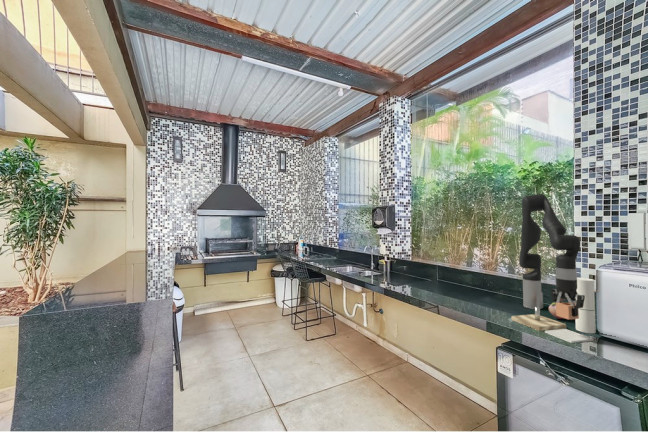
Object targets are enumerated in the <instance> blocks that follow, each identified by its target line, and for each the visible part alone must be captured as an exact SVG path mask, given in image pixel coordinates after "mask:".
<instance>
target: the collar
mask: <svg viewBox="0 0 648 432" xmlns="http://www.w3.org/2000/svg"><path fill="white" fill-rule="evenodd" d="M555 303H556V302H555ZM556 316H559V317H562V319H566V320H575V319H579V308H578V316H577V317H573V316H572V307H571V304H570V303H569V302H567V301H565V302H564V301H563V302H561V303H556Z"/></svg>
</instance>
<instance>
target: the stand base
mask: <svg viewBox="0 0 648 432" xmlns="http://www.w3.org/2000/svg"><path fill="white" fill-rule="evenodd" d="M511 320H512V321H513V322H516V323H519V324H521V325H524V326H525V325H526V326H525V327H529V328H530V327H531V328H530V329H533V330H535V329H536V331H538V332H543V331H544V332H545V331H548V330H559V329H567V324H566V323H563V322H560V321H558V320H554V319H552V318H549V317H547V316H542V315H540V321H537V320H535V313H534V314H522V315H513V316H512V315H511Z"/></svg>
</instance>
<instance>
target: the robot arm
mask: <svg viewBox="0 0 648 432" xmlns="http://www.w3.org/2000/svg"><path fill="white" fill-rule="evenodd" d="M541 211H542V212H544V215H543V218H542V221H541V223H542V227H543V229H544V230H545V232H546V233H547V234H548V238H549V242H550V246H551V248H553V249H554V250H557V251H565V253H563V254H558V255H557V256H556V257H555V267H556V268H555V287H557V288H551V289H549V291H550V295H551V300H552V301H551V302H552V303H561V302H564V301H568V302H567V303H570V304H571V307H572V316H573V317H577V316H578V308H583V305H584V299H585V296H584V295H579V294H578V293H577V291H576V290H577V278H578V273H577V257H578V253H579V251H580V248H581V240H580V238H579V237H578V236H576V235H573V234H566V233H567V229H566V228H565V226H564V224H563V223H562V222H561V221H560V220H559V219H558V216H557V215H556V213H555V211H554V209H553V206H552V204H551V203H550V200H549V199H548V198H547V196H546V195H545V194H542V193H539V194H537V193H536V194H531V195H525V196H523V197H522V199H521V215H522V216H521V218H522V220H521V222H522V223H521V231H520V232H521V233H520V234H521V235H520V243H521V244H520V253H519V258H518V259H519V260H518V261H519V263H518V264H519V266H520V267H521V268H522V269H531V270H532V269H533V270H532V271H530V272H525V273H523V274H522V295H523V296H522V299H523V301H522V303H523V306H522V307H524V308H526V309H531V310H535V307H539V308H540V310H542V309H544V300H543V299H544V295H543V294H544V293H543V292H542V258H541V255H540V254H539V253H529V252H530V250H532V249H533V248H534V247H535V246H536V245H537V244H538V243H539V242H540V240H541V237H542V236H541V235H542V229H541V227H540V226H539V224H538V223H537V222H536V221H535V220H534V219H533V218H532V213H533V212H541ZM576 297H577V298H576ZM576 299H577V300H576Z"/></svg>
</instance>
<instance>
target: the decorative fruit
mask: <svg viewBox="0 0 648 432" xmlns="http://www.w3.org/2000/svg"><path fill="white" fill-rule="evenodd" d="M548 311H549V313H550V314H551V315H552V316H553V317H555V318H556V319H558V320H562V319H563V318H562V317H559V316H556V302H552V303H551V304H550V305H549V306H548Z"/></svg>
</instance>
